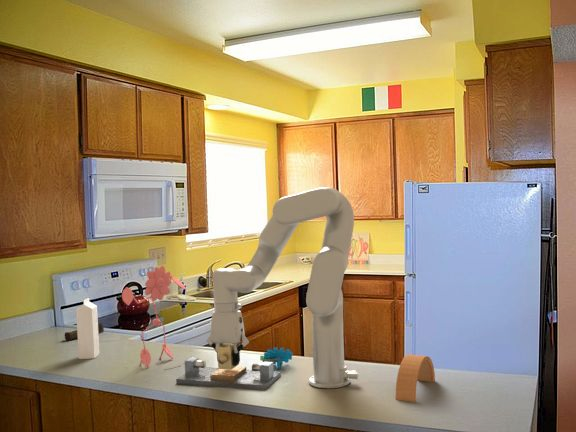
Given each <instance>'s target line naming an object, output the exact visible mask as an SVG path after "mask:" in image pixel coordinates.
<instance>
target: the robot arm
mask: <svg viewBox="0 0 576 432" xmlns="http://www.w3.org/2000/svg"><path fill="white" fill-rule="evenodd" d="M323 217H326V224H325V228H324V233H323V239H322V243H321V248H320V251H318V252H317V254H316V255H315V256H314V259H313V262H312V266H311V271H310V276H309V280H308V281H309V282H308V285H307V292H306V297H305V302H306V306H307V309H308V311H309V312H310V313H311V331H312V332H311V333H312V334H311V335H312V338H311V339H312V357H313V358H312V359H313V361H312V362H313V363H312V364H313V375H312V376H310V377H309V378H308V383H309V385H311V387H315V388H319V389H337V388H343V387H345V386H347V385H349V384H350V382H351V380H359V372H357V371H356V370H349V369H348V366H347V365H345V346H344V317H343V316H344V296H343V295H344V294H343V290H342V286H343V282H344V281H343V280H344V276H345V272H346V270H347V269H348V265H349V257H350V256H349V255H350V251H351V245H352V239H353V232H354V226H355V214H354V209H353V207H352V204H351V203H350V201H349V199H348V198H347V197H346V196H345V195H344V194H343V193H341V192H340V191H339V190H338V189H336V188H333V187H330V186H329V187H328V186H326V187H324V186H322V187H317V188H314V189H313V188H312V189H310V190H306V191H302V192H299V193H297V194H292V195H287V196H283V197H281V198H279V199H277V200H276V202H274V204H273V207H272V215H271V217H270V219H269V220H268V221H267V223H266V225H265V226H264V228H263V229H262V231H261V233H260V234H259V236H258V244H257V245H258V246H257V249H256V250H255V253H254V254H253V255H252V258H251V259H250V261H249V263H248V264H247V265H246V266H245V267H243V268H239V269H234V268H231V267H226V268H225V267H224V268H223V267H221V268H216V269H214V270H213V272H212V287H213V289H212V291H213V310H214V311H212V315H211V323H210V335H209V336H208V338H207V339H206V343H208V344H209V345H210V346H211V348H213V350H214V352H215V353H216V359H217V362H218V352H217V347H218V346H220V345H221V344H223V343H224V344H232V346H233V349H234V353H233V365H234V366H236V365H237V364H239V365H240V363H241V362H240V361H241V359H240V358H241V356H240V355H241V354H240V353H241V351H242V350H243V348H245V347H246V346H247V345H249V343H250V341H249V340H248V337H246V335H245V334H246V333H245V326H244V325H245V324H244V319H243V315H242V311H241V310H240V309H242V308H243V304H242V303H239V299H238V298H239V297H238V293H243V294H248V293H251V292H253V291H254V290H257V288H260V286H262V285H263V283H264V282H265V280H266V279H267V277H268V276H269V274H270V273H271V271H272V270H273V268H274V267H275V264H276V263H277V261H278V259H279V257H280V256H281V254H282V252H283V250H284V249H285V247H286V245H287V244H288V243H289V240H290V239H291V237H292V236H293V234H294V233H295V231H296V229H297V228H298V227H299V225H300V223H303V222H307V221H311V220H315V219H319V218H323ZM240 342H242V343H241V344H240ZM237 366H238V365H237Z"/></svg>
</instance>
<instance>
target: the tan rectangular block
mask: <svg viewBox="0 0 576 432" xmlns="http://www.w3.org/2000/svg"><path fill="white" fill-rule="evenodd" d="M217 352H218V361H217V368H218V369H228V370H232V369H233V368H234V367H236V366H240V363H239V364H237V365H236V366H234V365H233V353H234V349H233V346H232V344H224V343H223V344H221V345H220V346H218V347H217ZM217 352H216V353H217Z"/></svg>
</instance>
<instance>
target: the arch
mask: <svg viewBox="0 0 576 432" xmlns="http://www.w3.org/2000/svg"><path fill="white" fill-rule="evenodd" d="M418 381H421V382H422V381H423V382H430V383H431V382H432V383H434V382H435V381H436V375H435V369H434V364H433V361H432V359H431V358H430V356H428V355H418V354H405V355H404V357H403V358H402V360H401V362H400V365H399V368H398V371H397V377H396V383H395V400H399V401H405V402H413V403H416V401H417V387H418V386H417V384H418Z"/></svg>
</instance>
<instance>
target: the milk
mask: <svg viewBox="0 0 576 432" xmlns="http://www.w3.org/2000/svg"><path fill="white" fill-rule="evenodd" d="M75 312H76V313H75V314H76V328H77V329H76V330H77V335H78V338H77V350H78V351H77V353H78V354H77V355H78V360H89V359H91V360H92V359H96V358H97V357H98V356H99V355H100V342H99V341H100V339H99V338H100V337H99V334H98V323H99V321H98V320H99V319H98V305H96V304H94V303H93V302H91V301H90V298H89V297H87V298H85V299H84V300H83V304H82V305H80V306H79V307H77V308H75Z"/></svg>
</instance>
